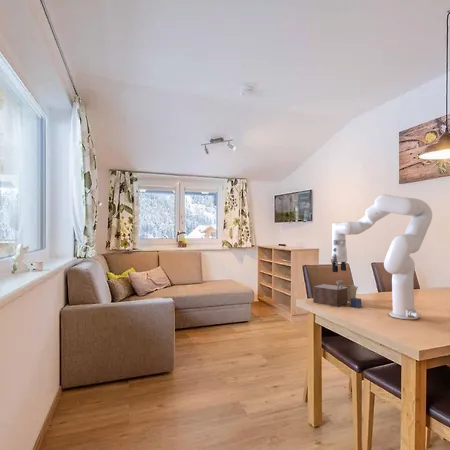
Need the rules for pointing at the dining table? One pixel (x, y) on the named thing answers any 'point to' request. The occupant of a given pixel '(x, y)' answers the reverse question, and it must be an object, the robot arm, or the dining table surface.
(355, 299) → the block
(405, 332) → the dining table surface
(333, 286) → the lid
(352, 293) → the flower pot
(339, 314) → the dining table surface
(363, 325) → the dining table surface
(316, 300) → the chest
